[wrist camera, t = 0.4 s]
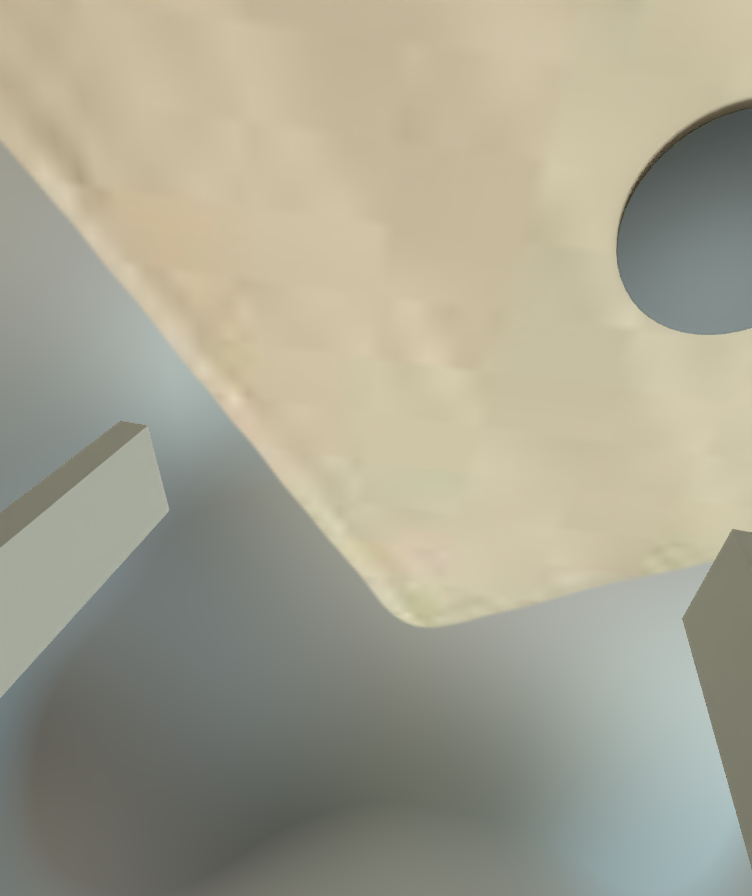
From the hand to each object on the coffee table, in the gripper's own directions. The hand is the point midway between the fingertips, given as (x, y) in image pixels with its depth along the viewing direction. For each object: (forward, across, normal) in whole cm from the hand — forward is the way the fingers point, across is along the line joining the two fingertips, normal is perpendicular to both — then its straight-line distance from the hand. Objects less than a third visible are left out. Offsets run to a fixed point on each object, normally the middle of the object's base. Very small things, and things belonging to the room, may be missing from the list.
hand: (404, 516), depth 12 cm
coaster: (+26, +13, +2) cm, 30 cm away
